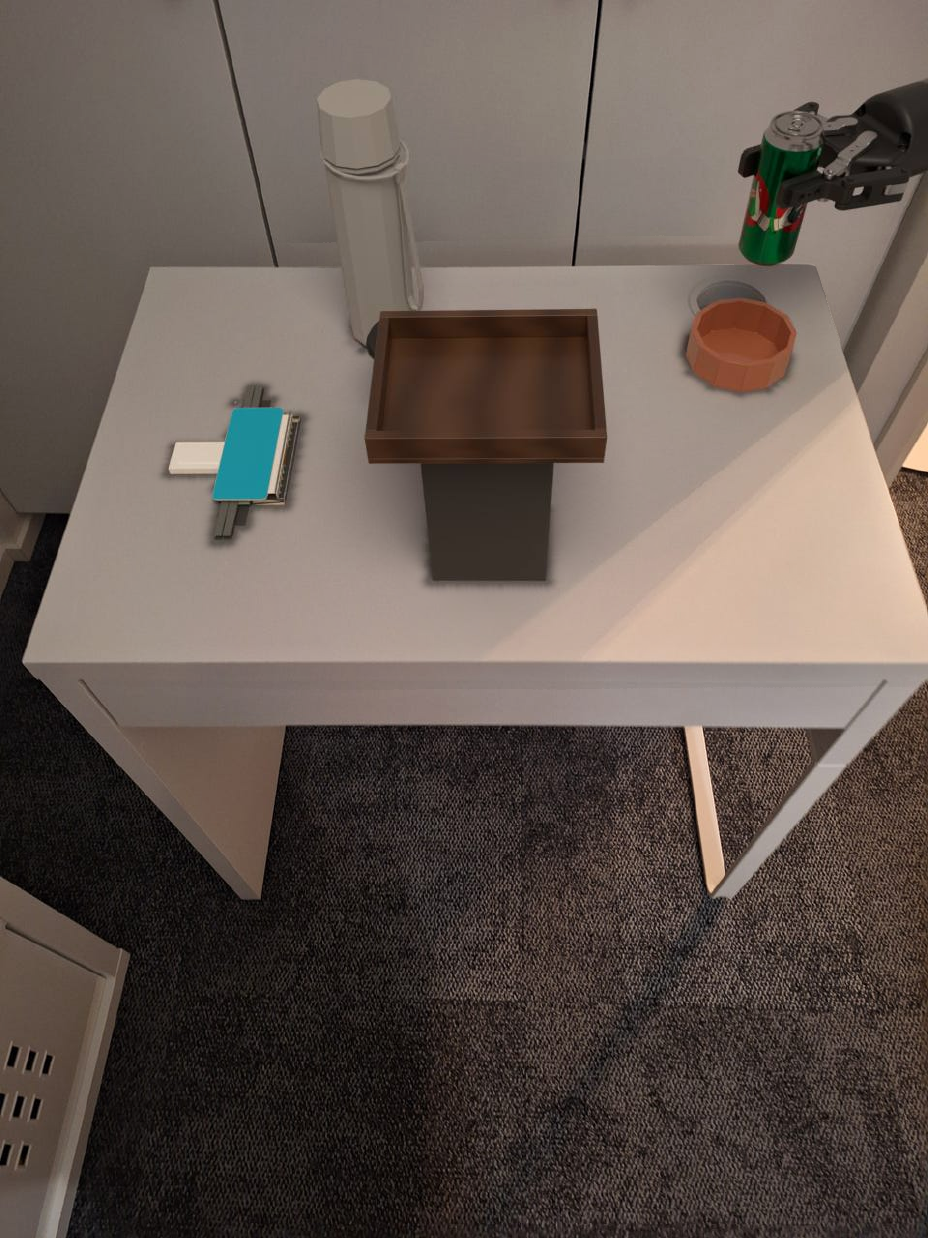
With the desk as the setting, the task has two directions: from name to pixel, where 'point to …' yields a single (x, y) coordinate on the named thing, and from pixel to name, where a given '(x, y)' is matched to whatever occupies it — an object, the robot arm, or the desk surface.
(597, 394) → the tray
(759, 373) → the bowl
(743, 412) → the desk surface
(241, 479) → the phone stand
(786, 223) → the soda can
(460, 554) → the stand
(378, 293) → the water bottle
